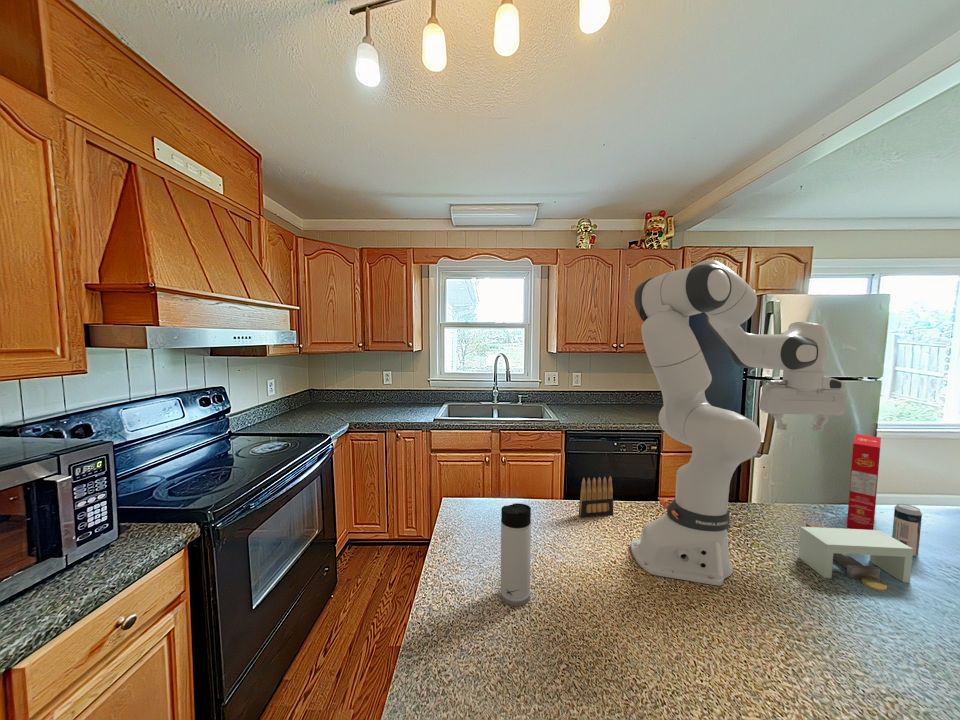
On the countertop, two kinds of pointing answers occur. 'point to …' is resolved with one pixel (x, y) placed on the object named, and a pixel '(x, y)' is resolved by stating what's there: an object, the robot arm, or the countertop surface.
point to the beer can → (907, 526)
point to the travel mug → (515, 554)
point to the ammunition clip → (596, 498)
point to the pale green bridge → (854, 549)
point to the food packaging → (863, 482)
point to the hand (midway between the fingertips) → (799, 429)
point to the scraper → (852, 563)
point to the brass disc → (874, 583)
